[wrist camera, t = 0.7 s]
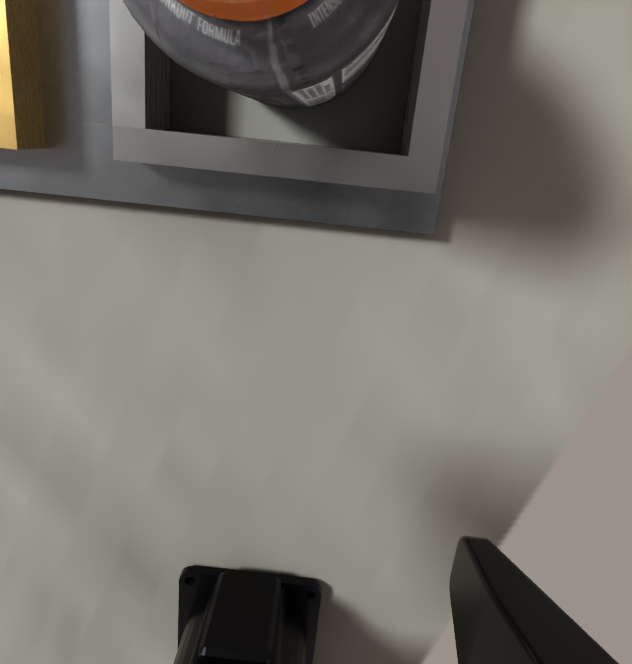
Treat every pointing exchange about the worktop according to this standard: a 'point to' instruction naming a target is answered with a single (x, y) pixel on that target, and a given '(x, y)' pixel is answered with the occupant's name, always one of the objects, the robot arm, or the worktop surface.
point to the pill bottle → (270, 43)
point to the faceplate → (197, 148)
